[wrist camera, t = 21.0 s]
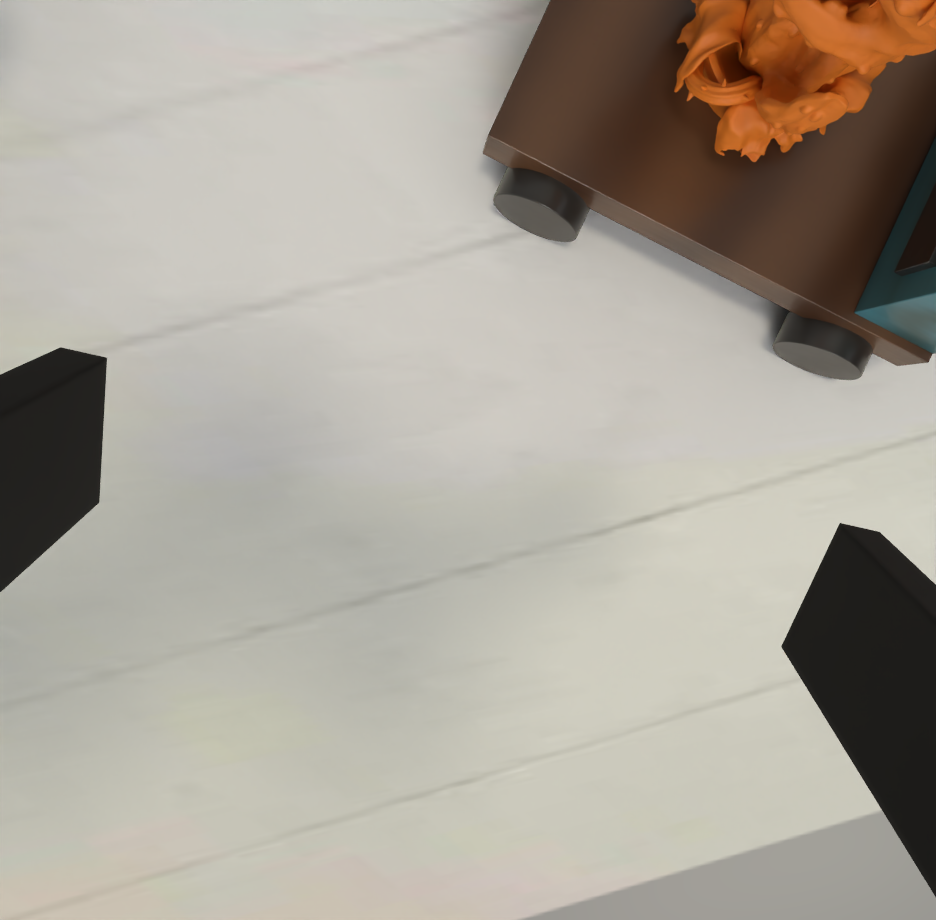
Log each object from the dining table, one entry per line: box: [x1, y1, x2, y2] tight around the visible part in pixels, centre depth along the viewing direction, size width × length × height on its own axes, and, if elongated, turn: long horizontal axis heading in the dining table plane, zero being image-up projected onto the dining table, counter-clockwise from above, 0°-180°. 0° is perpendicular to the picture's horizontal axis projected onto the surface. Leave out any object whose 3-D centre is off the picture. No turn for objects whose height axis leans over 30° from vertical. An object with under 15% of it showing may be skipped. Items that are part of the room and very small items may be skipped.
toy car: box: [483, 0, 936, 380], centre depth 38 cm, size 26×21×12 cm
